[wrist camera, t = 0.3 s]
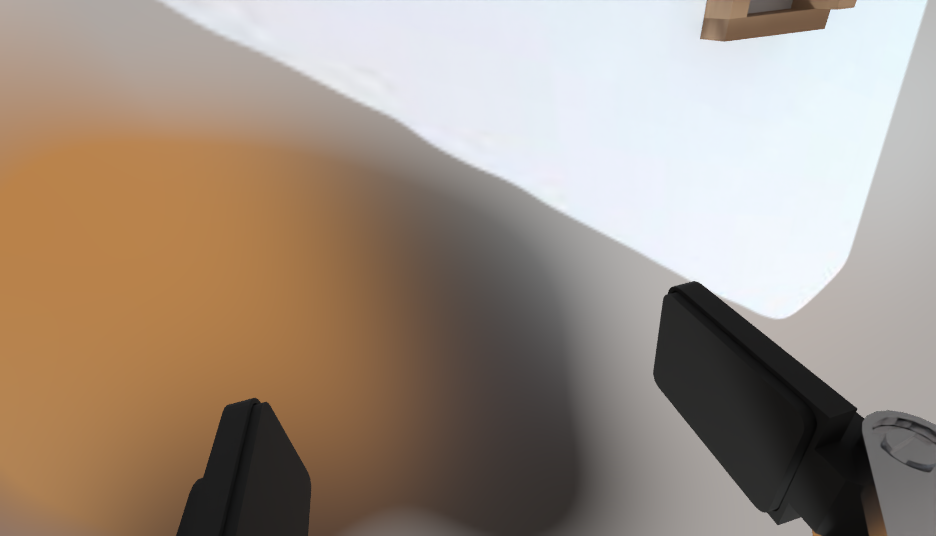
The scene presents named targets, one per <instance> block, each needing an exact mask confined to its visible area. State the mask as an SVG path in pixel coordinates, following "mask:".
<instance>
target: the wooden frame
mask: <svg viewBox="0 0 936 536" xmlns="http://www.w3.org/2000/svg"><path fill="white" fill-rule="evenodd" d="M855 3H856V0H707V4H706V9H705V15H704V21H703V26H702V32H701V37H700V39H706V40H716V41H732V40H740V39H748V38H756V37H764V36H771V35H779V34H787V33H795V32H802V31H810V30H818V29H825V25H826V22H827V19H828V16H829V12H830V9H845V8H853V7H854V6H855Z"/></svg>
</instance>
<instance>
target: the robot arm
mask: <svg viewBox="0 0 936 536" xmlns="http://www.w3.org/2000/svg"><path fill="white" fill-rule="evenodd" d="M653 375H654V379H655V382H656V384H657V385H658V387H659V388H660V389H661V391H662V392H663V393H664V394H665V396H666V397H667V398H668V399H669V401H670V402H671V403H672V404H673V406H674V407H675V408H676V409H677V411H678V412H679V413H680V414H681V416H682V417H683V418H684V419H685V421H686V422H687V423H688V424H689V425H690V427H691V428H692V429H693V430H694V431H695V433H696V434H697V435H698V437H699V438H700V439H701V440H702V441H703V443H704V444H705V445H706V446H707V448H708V449H709V450H710V451H711V453H712V454H713V455H714V456H715V457H716V459H717V460H718V461H719V463H720V464H721V465H722V466H723V467H724V469H725V470H726V471H727V472H728V474H729V475H730V476H731V477H732V479H733V480H734V481H735V482H736V483H737V485H738V486H739V487H740V488H741V490H742V491H743V492H744V493H745V495H746V496H747V497H748V498H749V500H750V501H751V502H752V503H753V504H754V505H755V507H756V508H758V509H759V510H760V511H762V512H767V513H768V514H769V515H770V516H771V518H772V519H773V520H774V521H775V523H776V524H777V525H780V524H783V523H786V522H789V521H792V520H794V519H797V518H800V517H802V518H803V520H804V521H805V522H806V523H807V524H808V525H809V526H810V528H811V529H812V533H813V536H936V425H935V424H933V423H931V422H929V421H926V420H924V419H922V418H920V417H916V416H914V415H910V414H907V413H903V412H896V411H889V410H888V411H877V412H874V413H872V414H870V415H867V416H866V418H865V419H864V418H863V417H861V416H860V415H859V414H858V413H857V412H856V411H857V408H856V407H854V406H853V405H852V404H851V403H850V402H848V401H847V400H845V398H843V397H842V396H841V395H839V394H838V393H837V392H836V391H835V390H833V389H832V388H831V387H830V386H828V385H827V384H826V383H825V382H823V381H822V380H821V379H820V378H818V377H817V376H816V375H814V374H813V373H812V372H811V371H810V370H808V369H807V368H806V367H805V366H803V365H802V364H801V363H800V362H798V361H797V360H796V359H794V358H793V357H792V356H791V355H789V354H788V353H787V352H785V351H784V350H783V349H782V348H781V347H779V346H778V345H777V344H776V343H774V342H773V341H772V340H771V339H769V338H768V337H767V336H766V335H764V334H763V333H762V332H761V331H759V330H758V329H757V328H756V327H754V326H753V325H752V324H750V323H749V322H748V321H747V320H746V319H744V318H743V317H742V316H740V315H739V314H738V313H737V312H735V311H734V310H733V309H732V308H731V307H729V306H728V305H727V304H726V303H724V302H723V301H722V300H721V299H719V298H718V297H717V296H716V295H714V294H713V293H712V292H711V291H709V290H708V289H707V288H705V287H704V286H703V285H702V284H700V283H699V282H695V281H693V282H689V283H685V284H682V285H678V286H674V287H671V288H670V290H669V292H668V294H667V295H665V296H664V299H663V305H662V312H661V319H660V327H659V334H658V341H657V349H656V357H655V364H654V372H653ZM310 498H311V482H310V477H309V474H308V472H307V470H306V468H305V466H304V465H303V463H302V461H301V459H300V457H299V456H298V454H297V452H296V450H295V449H294V447H293V445H292V443H291V442H290V440H289V438H288V436H287V435H286V433H285V431H284V429H283V428H282V426H281V424H280V422H279V420H278V419H277V417H276V415H275V413H274V412H273V410H272V408H271V406H270V405H269V403H267V402H264V403H260V401H259V400H258V399H256V398H252V399H248V400H245V401H241V402H237V403H234V404H229V405H227V406H226V407H225V408H224V411H223V413H222V416H221V420H220V423H219V426H218V430H217V433H216V436H215V440H214V443H213V447H212V450H211V453H210V457H209V460H208V463H207V467H206V470H205V474H204V477H203V478H201V479H198V480H197V481H196V482H195V484H194V485H193V487H192V490H191V491H190V494H189V497H188V500H187V503H186V506H185V510H184V513H183V516H182V519H181V522H180V526H179V529H178V532H177V535H176V536H308V526H309V512H310Z"/></svg>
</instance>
